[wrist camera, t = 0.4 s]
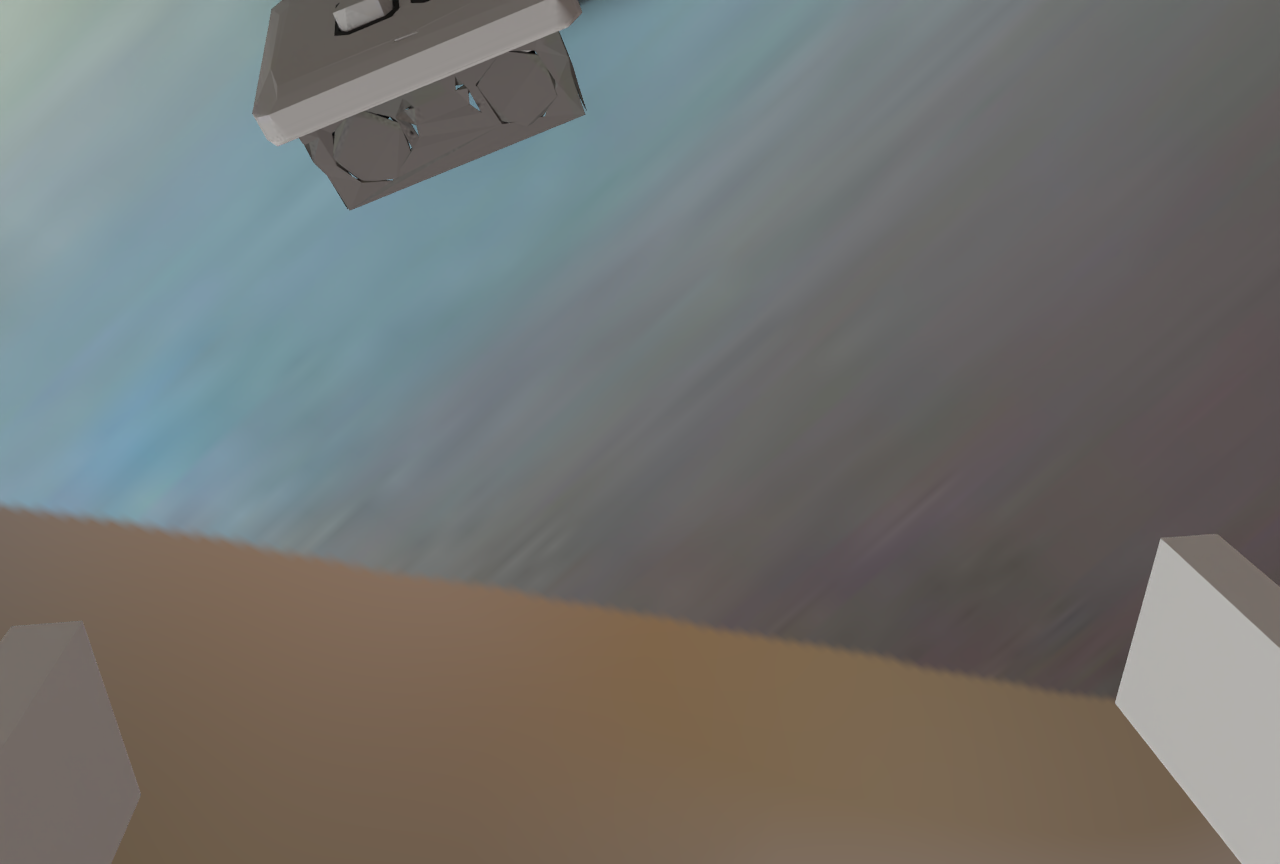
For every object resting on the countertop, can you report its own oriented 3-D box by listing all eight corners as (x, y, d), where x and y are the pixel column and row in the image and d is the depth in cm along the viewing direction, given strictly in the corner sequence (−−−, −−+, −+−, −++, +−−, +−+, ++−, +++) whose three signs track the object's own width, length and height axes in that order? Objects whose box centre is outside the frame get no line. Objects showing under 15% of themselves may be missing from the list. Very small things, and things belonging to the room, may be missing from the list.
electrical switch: (530, -107, 32) (549, -84, 24) (586, 47, 35) (620, 113, 27) (271, 2, 33) (209, 59, 25) (347, 145, 35) (313, 237, 28)
